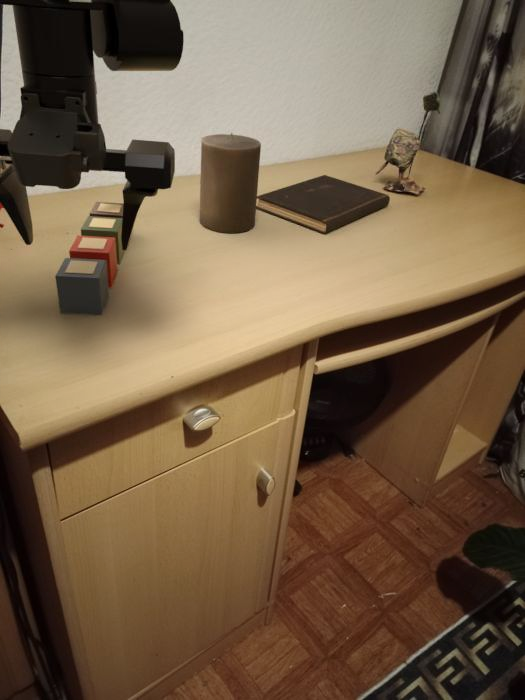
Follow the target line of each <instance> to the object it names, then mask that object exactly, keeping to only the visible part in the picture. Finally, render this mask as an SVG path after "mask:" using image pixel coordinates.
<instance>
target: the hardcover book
mask: <svg viewBox="0 0 525 700" xmlns="http://www.w3.org/2000/svg"><path fill="white" fill-rule="evenodd" d="M390 201H391V197H390V196H389V194H386V193H383V192H380V191H377V190H374V189H370V188H367V187H365V186H362V185H358V184H355V183H352V182H349V181H345V180H342V179H339V178H336V177H334V176H333V177H332V176H329V175H326V174H323V175H320V176H316V177H314V178H309V179H307V180H304V181H301V182H298V183H293V184H291V185H288V186H285V187H282V188H279V189H275V190H272V191H269V192H266V193H261V194H259V195H257V202H256V204H257V205H256V210H259V211H261V212H264V213H267V214H268V215H272V216H274V217H277V218H280V219H283V220H286V221H288V222H291V223H293V224H295V225H298V226H301V227H304V228H306V229H308V230H312V231H314V232H316V233H319V234H322V235H325V234H327V233H329V232H331V231H333V230H337V229H338V228H341V227H343V226H345V225H346V224H347V225H348V224H349V223H352V222H353V221H356V220H358V219H361V218H362V217H365V216H367V215H369V214H371V213H373V212H375V211H378V210H381V209H382V208H385V207H387V206H389V204H390Z"/></svg>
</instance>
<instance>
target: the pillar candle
mask: <svg viewBox="0 0 525 700" xmlns="http://www.w3.org/2000/svg"><path fill="white" fill-rule="evenodd" d="M200 141H201V142H200V143H201V146H200V176H199V179H200V181H199V223H200V224H201V225H202V226H203V227H204V228H206V229H208V230H212V231H215V232H219V233H225V234H226V233H228V234H234V233H237V234H238V233H242V232H243V233H244V232H248V231H250V230H252V229H253V228H254V227H255V225H256V214H257V209H256V206H257V202H258V199H257V196H258V186H259V173H260V162H261V161H260V160H261V150H262V144H261V141H259V140H258V139H255V138H253V137H250V136H246V135H240V134H233V132H230V133H229V134H226V133H225V134H224V133H221V134H220V133H219V134H210V135H209V134H208V135H206V136H202V137H201V138H200Z"/></svg>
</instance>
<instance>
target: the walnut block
mask: <svg viewBox="0 0 525 700" xmlns="http://www.w3.org/2000/svg"><path fill="white" fill-rule="evenodd" d="M123 203H124V202H123ZM123 203H121V202H107V201H106V202H105V201H95V202H94V204H93V206H92V208H91V210H90V212H89V216H95V217H111V218H123Z"/></svg>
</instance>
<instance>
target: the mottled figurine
mask: <svg viewBox="0 0 525 700" xmlns="http://www.w3.org/2000/svg"><path fill="white" fill-rule="evenodd" d="M422 104H423V110H424V114H423V119H422V120H423V121H422V122H421V123H422V124H421V126H420V129H419V133H418V134H419V135H418V134H415V133H413V132H411V131H409V130H407V129H405V128H396V130H395V131H394V132H393V134H392V136H391V138H390V139H389V143H388V144H387V146H386V149H385V152H384V157H383V158H384V160H385V162H383V163H384V164H382V165H381V167H380V168H378V170H377V171H375V173H374V175H375V176H376V175H378V174H380V172H381V171H383V170H384V169H385V168H386V167H387V166H388V165H389V164H390V165H391V166H394V167H396V168H398V177H397V180H396V181H395V180H391V181H390V180H388V181H387V182H386V184H385V185H384V186H383V187H382V189H385V190H390V191H391V192H392V191H393V192H407V193H413V194H414V195H420V194H421V193H422V191H425V190H426V187H421V186H420V185H418V184H417V183H416V182H415V181H416V180H415V178H412V177H410V175H411V170H412V166H413V163H414V160H415V158H416V156H417V153H418V151H419V149H420V147H421V144H422V143H421V142H422V141H421V135H422V132H423V128H424V124H425V122H426V119H427V118H428V115H429V114H428V113H429V112H431V111H434V112H437V114H441V111H440V107H441V101H440V96H439V92H437V91H432V92H430V93H427V94H425V95H424V96H423V97H422ZM407 169H409V170H408V175H407V177H404V176H405V173H406V171H407ZM420 187H421V188H420ZM404 189H405V190H404Z"/></svg>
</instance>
